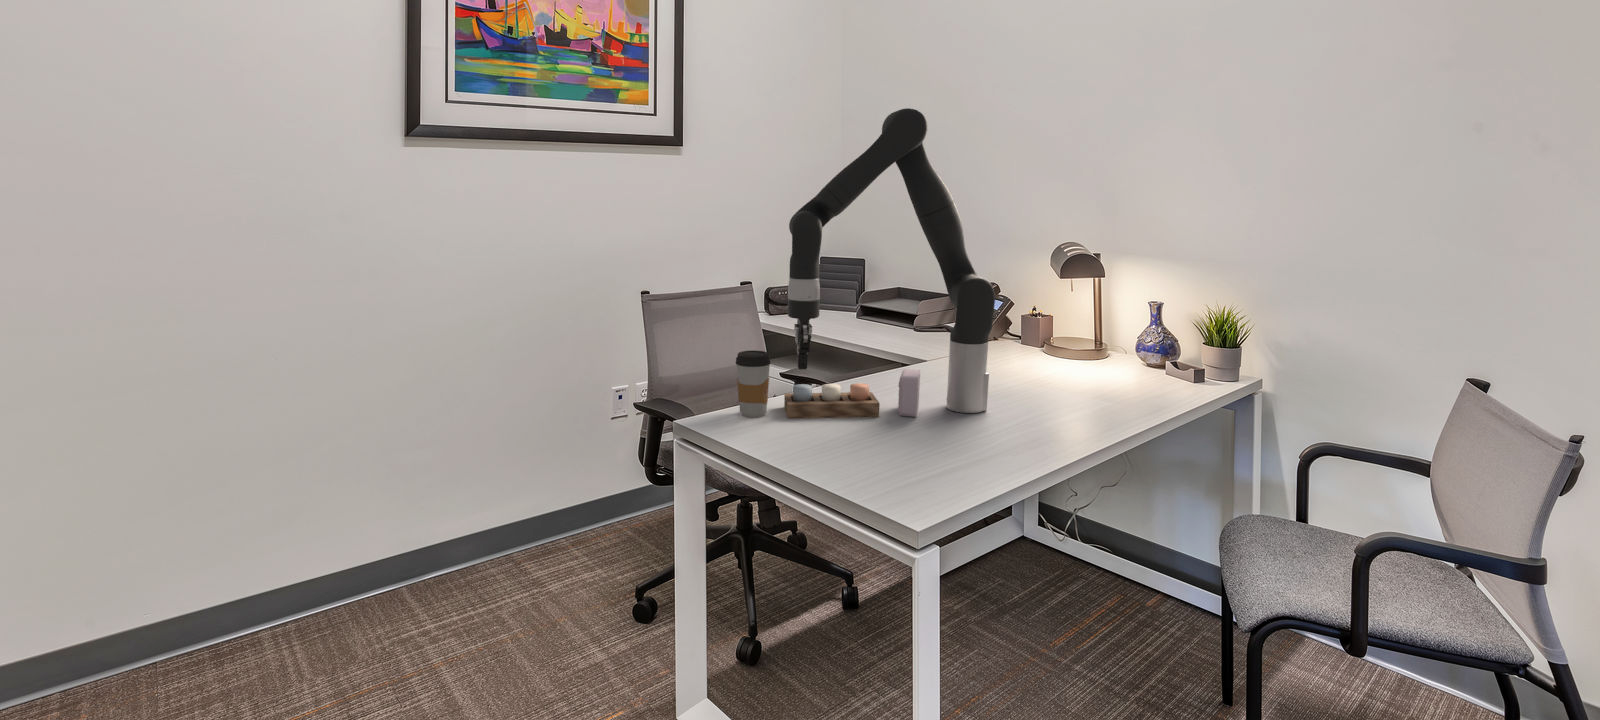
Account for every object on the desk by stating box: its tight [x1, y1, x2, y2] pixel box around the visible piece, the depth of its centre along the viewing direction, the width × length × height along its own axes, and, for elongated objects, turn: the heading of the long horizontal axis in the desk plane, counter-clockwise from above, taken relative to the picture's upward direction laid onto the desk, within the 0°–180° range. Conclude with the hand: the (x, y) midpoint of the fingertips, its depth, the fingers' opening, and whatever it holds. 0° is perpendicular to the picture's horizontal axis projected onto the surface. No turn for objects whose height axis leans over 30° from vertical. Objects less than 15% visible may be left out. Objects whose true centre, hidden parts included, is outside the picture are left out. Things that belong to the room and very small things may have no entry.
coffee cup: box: [735, 349, 771, 419], centre depth 188 cm, size 8×8×15 cm
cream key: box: [821, 383, 842, 401], centre depth 191 cm, size 5×5×3 cm
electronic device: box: [897, 368, 921, 418], centre depth 192 cm, size 10×5×10 cm, turn 168°
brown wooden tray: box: [783, 391, 881, 420], centre depth 192 cm, size 22×10×4 cm, turn 96°
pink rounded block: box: [849, 382, 870, 401], centre depth 192 cm, size 5×5×3 cm
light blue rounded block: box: [792, 383, 813, 402], centre depth 191 cm, size 5×5×3 cm
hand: (802, 368), depth 189 cm, fingers closed
